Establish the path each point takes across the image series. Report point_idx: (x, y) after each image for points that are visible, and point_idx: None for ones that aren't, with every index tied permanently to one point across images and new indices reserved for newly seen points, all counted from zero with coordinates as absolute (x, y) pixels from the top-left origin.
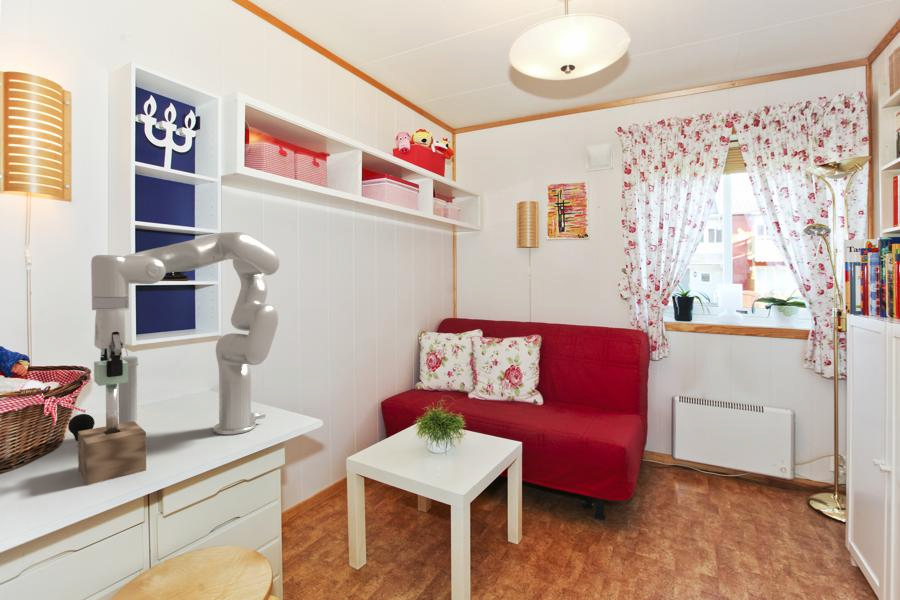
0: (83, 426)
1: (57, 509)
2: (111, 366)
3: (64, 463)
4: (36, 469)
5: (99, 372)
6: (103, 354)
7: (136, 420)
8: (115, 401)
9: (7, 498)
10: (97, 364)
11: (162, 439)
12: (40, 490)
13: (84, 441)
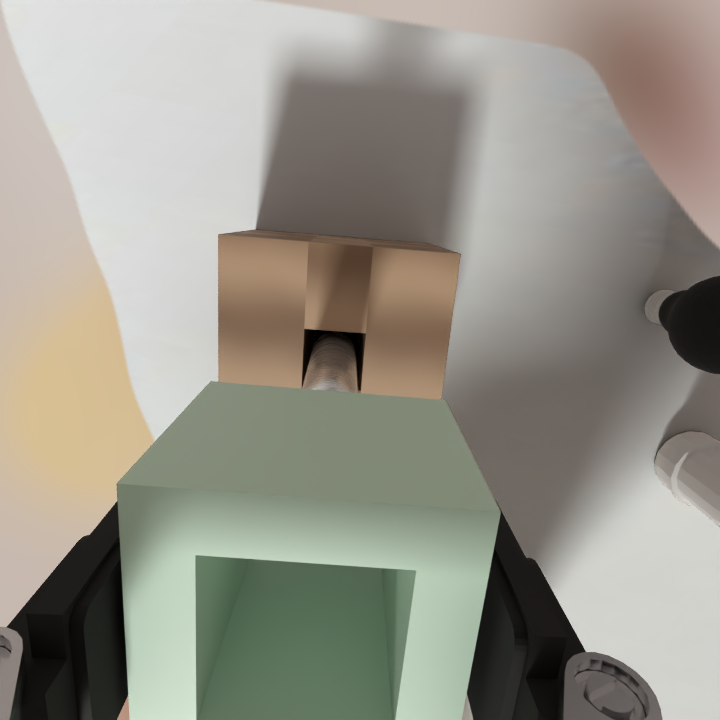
0: (679, 322)
1: (107, 115)
2: (39, 591)
3: (537, 224)
4: (553, 138)
5: (162, 445)
6: (557, 709)
7: (699, 509)
8: None
9: (326, 10)
10: (241, 497)
11: (516, 516)
12: (321, 108)
13: (276, 239)
